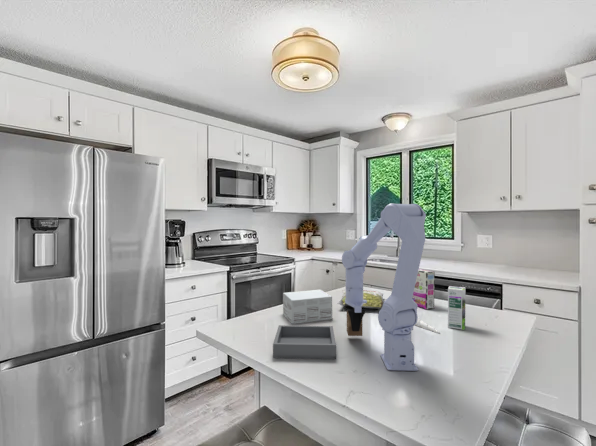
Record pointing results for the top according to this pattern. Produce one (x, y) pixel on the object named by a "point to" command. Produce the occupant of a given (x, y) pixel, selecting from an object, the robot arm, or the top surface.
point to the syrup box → (456, 307)
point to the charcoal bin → (304, 342)
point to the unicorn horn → (425, 326)
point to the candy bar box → (424, 289)
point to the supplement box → (307, 306)
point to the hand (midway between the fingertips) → (354, 328)
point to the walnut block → (349, 328)
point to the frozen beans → (371, 296)
